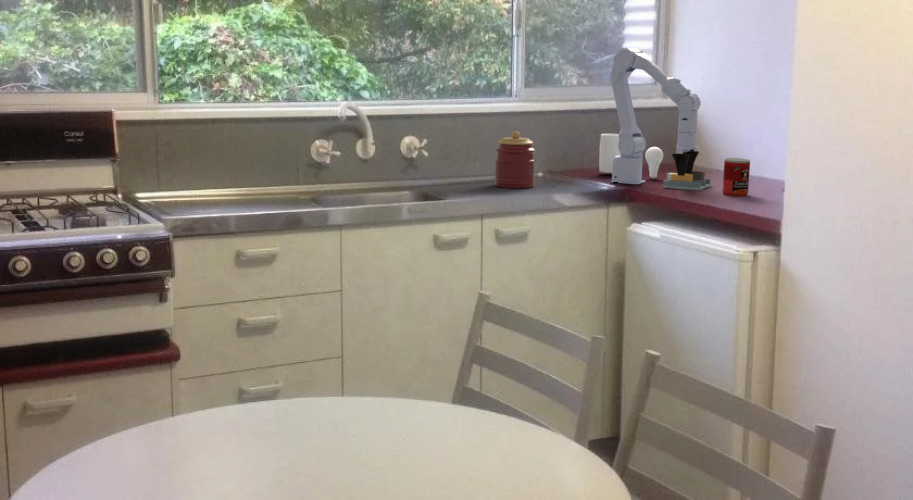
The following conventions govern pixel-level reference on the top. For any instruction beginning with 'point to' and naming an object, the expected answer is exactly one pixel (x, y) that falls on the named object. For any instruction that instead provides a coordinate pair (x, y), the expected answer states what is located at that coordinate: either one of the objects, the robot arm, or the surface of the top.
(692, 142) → the robot arm
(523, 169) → the canister
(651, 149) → the lightbulb
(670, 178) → the tall orange block
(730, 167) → the canned food
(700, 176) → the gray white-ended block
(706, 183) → the slot board
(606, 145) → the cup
